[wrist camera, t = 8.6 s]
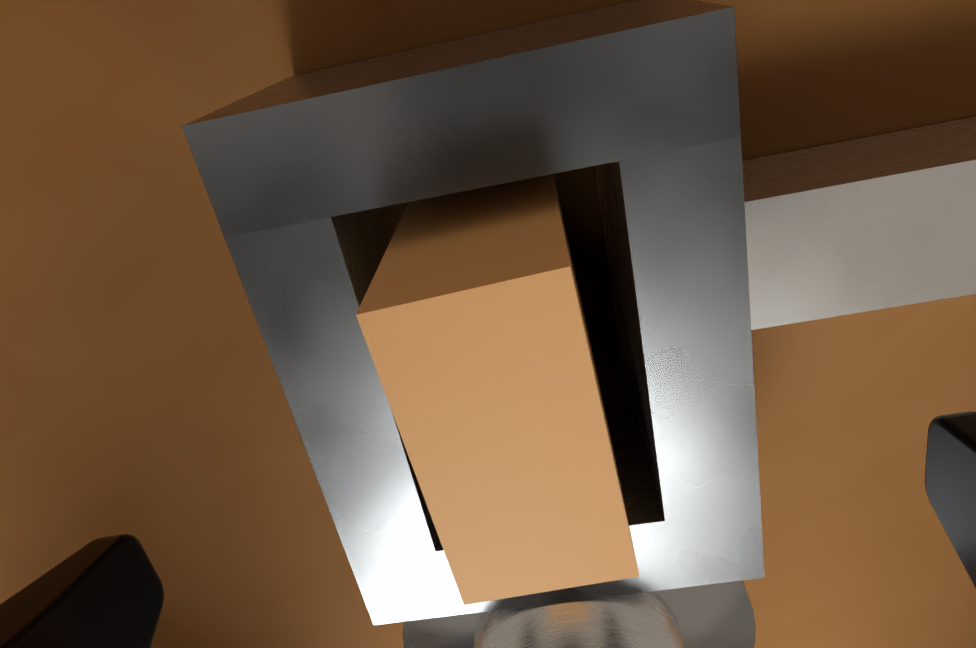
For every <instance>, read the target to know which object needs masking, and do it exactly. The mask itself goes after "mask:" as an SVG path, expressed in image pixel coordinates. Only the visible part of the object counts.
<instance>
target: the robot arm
mask: <svg viewBox="0 0 976 648" xmlns="http://www.w3.org/2000/svg"><path fill="white" fill-rule="evenodd" d="M925 487H926V491H927V495H928V498H929V501H930V503H931V505H932V507H933V509H934V510H935V512H936V514H937V516H938V518H939V520H940V522H941V524H942V526H943V527H944V529H945V531H946V533H947V535H948V537H949V539H950V541H951V543H952V544H953V546H954V548H955V550H956V552H957V554H958V556H959V558H960V560H961V561H962V563H963V565H964V567H965V569H966V571H967V573H968V575H969V576H970V578H971V580H972V582H973V584H974V586H975V588H976V412H974V411H970V412H963V413H956V414H949V415H942V416H938V417H936V418H934V419H933V420H932V421H931V423H930V425H929V429H928V438H927V453H926V467H925ZM163 598H164V593H163V586H162V583H161V580H160V578H159V577H158V575H157V573H156V571H155V569H154V567H153V566H152V564H151V562H150V560H149V558H148V556H147V554H146V553H145V551H144V549H143V547H142V545H141V543H140V542H139V540H138V539H136V538H135V537H134V536H132V535H128V534H122V535H115V536H108V537H102V538H98V539H96V540H93V541H92V542H90V543H89V544H87V545H86V546H84V547H83V548H82V549H80V550H79V551H77V552H76V553H74V554H73V555H71V556H70V557H68V558H67V559H66V560H64V561H63V562H61V563H60V564H58V565H57V566H55V567H54V568H53V569H51V570H50V571H48V572H47V573H45V574H44V575H42V576H41V577H40V578H38V579H37V580H35V581H34V582H32V583H31V584H29V585H28V586H26V587H25V588H24V589H22V590H21V591H19V592H18V593H16V594H15V595H13V596H12V597H11V598H9V599H8V600H6V601H5V602H3V603H2V604H0V648H151V644H152V641H153V637H154V634H155V630H156V627H157V623H158V620H159V616H160V613H161V609H162V606H163Z"/></svg>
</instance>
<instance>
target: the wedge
mask: <svg viewBox="0 0 976 648" xmlns="http://www.w3.org/2000/svg"><path fill="white" fill-rule="evenodd" d="M356 317H357V319H358V322H359V325H360V327H361V330H362V333H363V335H364V338H365V341H366V343H367V346H368V349H369V351H370V354H371V357H372V360H373V362H374V365H375V368H376V370H377V373H378V376H379V378H380V381H381V384H382V386H383V389H384V392H385V394H386V397H387V400H388V402H389V405H390V408H391V410H392V413H393V416H394V419H395V421H396V424H397V427H398V429H399V432H400V435H401V437H402V440H403V443H404V445H405V448H406V451H407V453H408V456H409V459H410V461H411V464H412V467H413V469H414V472H415V475H416V477H417V480H418V483H419V486H420V488H421V491H422V494H423V496H424V499H425V502H426V504H427V507H428V510H429V512H430V515H431V518H432V520H433V523H434V526H435V528H436V531H437V534H438V536H439V539H440V542H441V545H442V547H443V550H444V553H445V555H446V558H447V561H448V563H449V566H450V569H451V571H452V574H453V577H454V579H455V582H456V585H457V587H458V590H459V593H460V595H461V598H462V601H463V604H464V605H468V604H474V603H480V602H486V601H492V600H499V599H505V598H511V597H517V596H523V595H529V594H535V593H541V592H547V591H554V590H560V589H566V588H572V587H578V586H584V585H590V584H596V583H603V582H609V581H615V580H621V579H627V578H633V577H639V571H638V566H637V562H636V557H635V552H634V547H633V542H632V538H631V533H630V528H629V523H628V518H627V514H626V509H625V504H624V499H623V495H622V490H621V485H620V480H619V475H618V471H617V466H616V461H615V456H614V451H613V447H612V442H611V437H610V432H609V427H608V423H607V418H606V413H605V408H604V404H603V399H602V394H601V389H600V384H599V380H598V375H597V370H596V365H595V360H594V356H593V351H592V346H591V341H590V336H589V332H588V327H587V323H586V318H585V314H584V309H583V305H582V300H581V296H580V291H579V287H578V282H577V278H576V273H575V269H574V264H573V260H572V255H571V251H570V246H569V242H568V237H567V233H566V228H565V223H564V219H563V214H562V210H561V205H560V201H559V196H558V192H557V187H556V183H555V178H554V174H550V175H544V176H539V177H534V178H529V179H524V180H519V181H514V182H508V183H503V184H498V185H493V186H488V187H483V188H478V189H472V190H467V191H462V192H457V193H452V194H447V195H442V196H436V197H431V198H426V199H421V200H416V201H411V202H408V204H407V206H406V209H405V211H404V213H403V215H402V217H401V219H400V221H399V224H398V226H397V228H396V230H395V232H394V234H393V236H392V239H391V241H390V243H389V245H388V247H387V249H386V251H385V254H384V256H383V258H382V260H381V262H380V264H379V266H378V269H377V271H376V273H375V275H374V277H373V279H372V281H371V284H370V286H369V288H368V290H367V292H366V294H365V296H364V299H363V301H362V303H361V305H360V307H359V309H358V311H357V314H356Z"/></svg>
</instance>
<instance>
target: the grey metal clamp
mask: <svg viewBox="0 0 976 648" xmlns="http://www.w3.org/2000/svg"><path fill="white" fill-rule="evenodd" d="M182 128H183V131H184V133H185V136H186V138H187V141H188V144H189V146H190V149H191V151H192V154H193V157H194V159H195V162H196V164H197V167H198V170H199V172H200V175H201V177H202V180H203V183H204V185H205V188H206V190H207V193H208V196H209V198H210V201H211V203H212V206H213V209H214V211H215V214H216V216H217V219H218V222H219V224H220V227H221V229H222V232H223V235H224V237H225V240H226V242H227V245H228V248H229V250H230V253H231V255H232V258H233V261H234V263H235V266H236V268H237V271H238V274H239V276H240V279H241V281H242V284H243V287H244V289H245V292H246V294H247V297H248V300H249V302H250V305H251V307H252V310H253V313H254V315H255V318H256V321H257V323H258V326H259V328H260V331H261V334H262V336H263V339H264V341H265V344H266V347H267V349H268V352H269V354H270V357H271V360H272V362H273V365H274V367H275V370H276V373H277V375H278V378H279V380H280V383H281V386H282V388H283V391H284V393H285V396H286V399H287V401H288V404H289V406H290V409H291V412H292V414H293V417H294V419H295V422H296V425H297V427H298V430H299V432H300V435H301V438H302V440H303V443H304V445H305V448H306V451H307V453H308V456H309V458H310V461H311V464H312V466H313V469H314V471H315V474H316V477H317V479H318V482H319V484H320V487H321V490H322V492H323V495H324V497H325V500H326V503H327V505H328V508H329V510H330V513H331V516H332V518H333V521H334V524H335V526H336V529H337V531H338V534H339V537H340V539H341V542H342V544H343V547H344V550H345V552H346V555H347V557H348V560H349V563H350V565H351V568H352V570H353V573H354V576H355V578H356V581H357V583H358V586H359V589H360V591H361V594H362V596H363V599H364V602H365V604H366V607H367V609H368V612H369V615H370V617H371V620H372V622H373V625H380V624H388V623H396V622H404V627H403V641H404V648H754V644H755V619H754V613H753V608H752V605H751V602H750V599H749V597H748V594H747V591H746V588H745V586H744V583H743V580H750V579H758V578H764V560H763V541H762V522H761V504H760V485H759V466H758V447H757V429H756V410H755V391H754V372H753V353H752V335H751V330H755V329H761V328H768V327H774V326H780V325H786V324H792V323H798V322H805V321H811V320H817V319H823V318H829V317H835V316H841V315H848V314H854V313H860V312H866V311H872V310H878V309H885V308H891V307H897V306H903V305H909V304H915V303H921V302H928V301H934V300H940V299H946V298H952V297H958V296H965V295H971V294H976V116H974V117H969V118H964V119H959V120H953V121H948V122H943V123H938V124H932V125H927V126H922V127H917V128H911V129H906V130H901V131H896V132H890V133H885V134H880V135H875V136H869V137H864V138H859V139H854V140H848V141H843V142H838V143H833V144H827V145H822V146H817V147H812V148H806V149H801V150H796V151H791V152H785V153H780V154H775V155H770V156H764V157H759V158H754V159H749V160H743V161H742V147H741V128H740V109H739V91H738V72H737V53H736V34H735V16H734V7H732V6H726V5H719V4H712V3H705V2H699V1H692V0H633V1H629V2H624V3H620V4H615V5H611V6H606V7H601V8H597V9H592V10H588V11H583V12H579V13H574V14H570V15H565V16H561V17H556V18H552V19H547V20H543V21H538V22H534V23H529V24H524V25H520V26H515V27H511V28H506V29H502V30H497V31H493V32H488V33H484V34H479V35H475V36H470V37H466V38H461V39H457V40H452V41H448V42H443V43H438V44H434V45H429V46H425V47H420V48H416V49H411V50H407V51H402V52H398V53H393V54H389V55H384V56H380V57H375V58H371V59H366V60H362V61H357V62H352V63H348V64H343V65H339V66H334V67H330V68H325V69H321V70H316V71H312V72H307V73H303V74H298V75H294V76H291V77H289V78H287V79H285V80H282V81H280V82H278V83H276V84H274V85H271V86H269V87H267V88H265V89H263V90H260V91H258V92H256V93H254V94H252V95H249V96H247V97H245V98H243V99H241V100H238V101H236V102H234V103H232V104H229V105H227V106H225V107H223V108H221V109H218V110H216V111H214V112H212V113H210V114H207V115H205V116H203V117H201V118H199V119H196V120H194V121H192V122H190V123H188V124H185V125H183V126H182ZM591 166H594V167H595V174H596V181H597V188H598V195H599V202H600V209H601V216H602V223H603V230H604V237H605V244H606V251H607V258H608V265H609V272H610V279H611V286H612V293H613V300H614V307H615V314H616V321H617V328H618V335H619V342H620V349H621V356H622V363H623V367H622V368H616V369H609V370H603V371H597V375H598V380H599V384H600V389H601V394H602V399H603V404H604V408H605V413H606V418H607V423H608V427H609V432H610V437H611V442H612V447H613V451H614V456H615V461H616V466H617V471H618V475H619V480H620V485H621V490H622V495H623V499H624V504H625V509H626V514H627V518H628V523H629V528H630V533H631V538H632V542H633V547H634V552H635V557H636V562H637V566H638V571H639V577H633V578H627V579H621V580H615V581H609V582H603V583H596V584H590V585H584V586H578V587H572V588H566V589H560V590H554V591H547V592H541V593H535V594H529V595H523V596H517V597H511V598H505V599H499V600H492V601H486V602H480V603H474V604H468V605H464V604H463V601H462V598H461V595H460V593H459V590H458V587H457V585H456V582H455V579H454V577H453V574H452V571H451V569H450V566H449V563H448V561H447V558H446V555H445V553H444V550H443V547H442V545H441V542H440V539H439V536H438V534H437V531H436V528H435V526H434V523H433V520H432V518H431V515H430V512H429V510H428V507H427V504H426V502H425V499H424V496H423V494H422V491H421V488H420V486H419V483H418V480H417V477H416V475H415V472H414V469H413V467H412V464H411V461H410V459H409V456H408V453H407V451H406V448H405V445H404V443H403V440H402V437H401V435H400V432H399V429H398V427H397V424H396V421H395V419H394V416H393V413H392V410H391V408H390V405H389V402H388V400H387V397H386V394H385V392H384V389H383V386H382V384H381V381H380V378H379V376H378V373H377V370H376V368H375V365H374V362H373V360H372V357H371V354H370V351H369V349H368V346H367V343H366V341H365V338H364V335H363V333H362V330H361V327H360V325H359V322H358V319H357V317H356V314H357V311H358V309H359V307H360V305H361V303H362V301H363V299H364V296H365V294H366V292H367V290H368V288H369V286H370V284H371V281H372V279H373V277H374V275H375V273H376V271H377V269H378V266H379V264H380V262H381V260H382V258H383V256H384V254H385V251H386V249H387V247H388V245H389V243H390V241H391V239H392V236H393V234H394V232H395V230H396V228H397V226H398V224H399V221H400V219H401V217H402V215H403V213H404V211H405V209H406V206H407V204H408V203H407V202H411V201H416V200H421V199H426V198H431V197H436V196H442V195H447V194H452V193H457V192H462V191H467V190H472V189H478V188H483V187H488V186H493V185H498V184H503V183H508V182H514V181H519V180H524V179H529V178H534V177H539V176H544V175H550V174H555V173H560V172H565V171H570V170H575V169H580V168H586V167H591Z"/></svg>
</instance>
